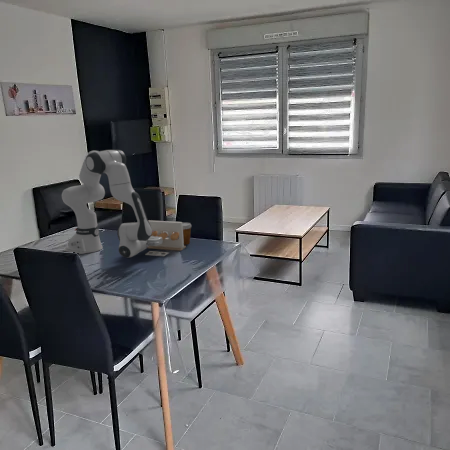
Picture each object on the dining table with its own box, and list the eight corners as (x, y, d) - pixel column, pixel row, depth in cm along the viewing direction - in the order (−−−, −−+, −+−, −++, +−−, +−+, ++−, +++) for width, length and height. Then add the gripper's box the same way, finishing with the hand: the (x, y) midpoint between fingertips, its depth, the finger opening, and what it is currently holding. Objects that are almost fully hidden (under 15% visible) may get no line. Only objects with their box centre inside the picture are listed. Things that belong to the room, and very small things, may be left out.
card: (145, 254, 240) (145, 253, 239) (150, 251, 245) (150, 250, 245) (164, 256, 236) (164, 255, 236) (168, 253, 241) (168, 252, 241)
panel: (147, 248, 252) (144, 222, 248) (152, 244, 258) (150, 219, 254) (180, 250, 245) (179, 223, 241) (185, 247, 251) (184, 221, 247)
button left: (148, 238, 249) (148, 233, 248) (154, 235, 255) (153, 230, 254) (154, 239, 247) (153, 233, 247) (159, 236, 253) (159, 230, 253)
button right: (170, 240, 244) (170, 234, 243) (175, 237, 250) (174, 231, 249) (176, 240, 243) (175, 234, 242) (180, 237, 249) (180, 231, 248)
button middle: (157, 240, 244) (157, 234, 243) (162, 237, 250) (162, 231, 249) (163, 241, 243) (162, 235, 242) (168, 238, 249) (167, 232, 248)
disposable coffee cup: (188, 245, 253) (187, 226, 250) (174, 244, 256) (173, 225, 253) (194, 241, 262) (193, 222, 259) (180, 240, 265) (179, 222, 262)
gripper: (155, 238, 231) (167, 232, 244) (123, 236, 237) (135, 230, 250) (156, 249, 232) (167, 242, 245) (124, 247, 239) (136, 240, 252)
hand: (151, 236), depth 248 cm, fingers closed, pressing on button left
